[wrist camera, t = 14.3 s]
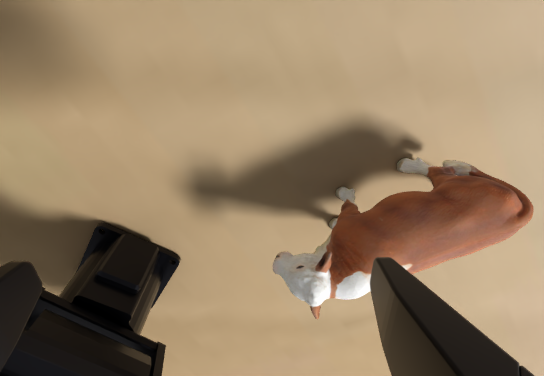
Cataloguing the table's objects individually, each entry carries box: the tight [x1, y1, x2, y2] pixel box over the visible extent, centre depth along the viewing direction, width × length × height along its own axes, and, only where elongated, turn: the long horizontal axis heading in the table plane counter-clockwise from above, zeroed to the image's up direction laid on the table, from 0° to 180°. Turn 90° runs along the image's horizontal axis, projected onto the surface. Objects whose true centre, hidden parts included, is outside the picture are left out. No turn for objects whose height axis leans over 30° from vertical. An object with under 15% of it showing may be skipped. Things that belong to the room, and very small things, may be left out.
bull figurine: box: [273, 158, 533, 319], centre depth 19 cm, size 4×13×8 cm, turn 111°
